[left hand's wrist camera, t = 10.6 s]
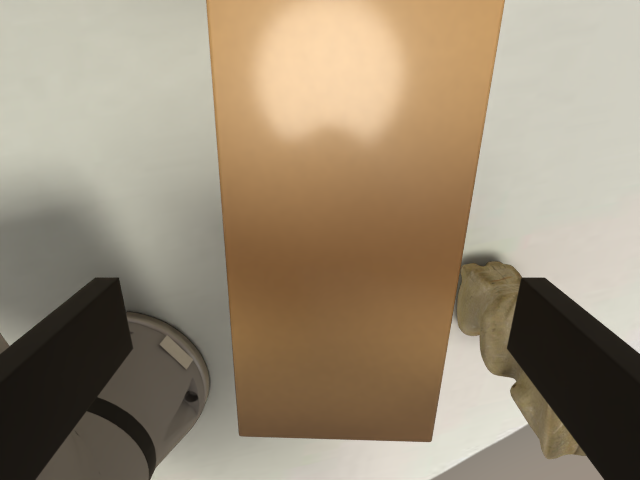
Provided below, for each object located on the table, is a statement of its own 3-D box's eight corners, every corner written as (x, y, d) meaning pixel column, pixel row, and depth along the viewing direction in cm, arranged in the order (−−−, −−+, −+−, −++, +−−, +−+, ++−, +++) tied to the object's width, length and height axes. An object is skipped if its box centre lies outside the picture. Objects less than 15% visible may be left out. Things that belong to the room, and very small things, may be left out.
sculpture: (443, 324, 36) (518, 473, 22) (448, 253, 33) (535, 370, 19) (507, 321, 35) (624, 470, 21) (516, 250, 33) (656, 365, 19)
